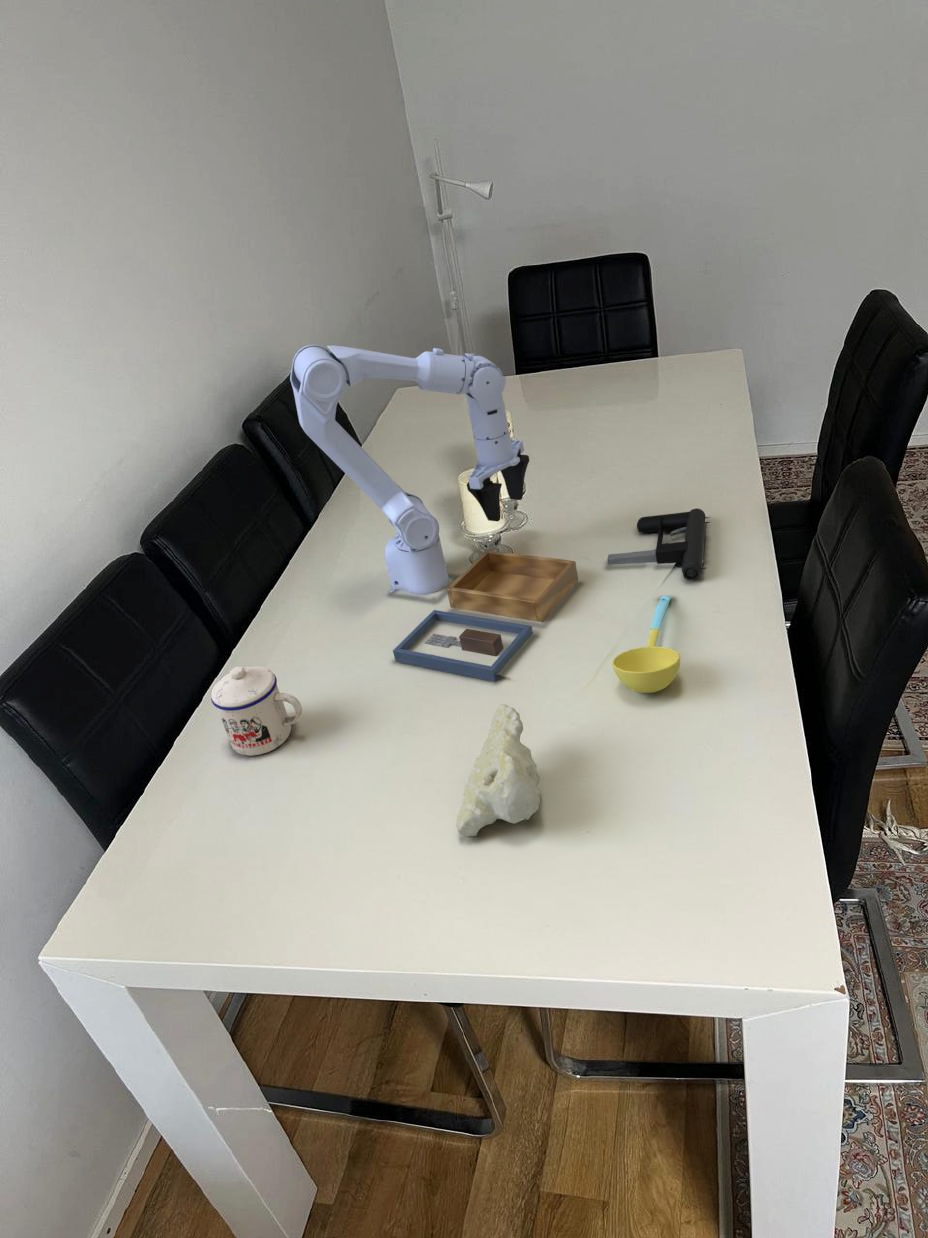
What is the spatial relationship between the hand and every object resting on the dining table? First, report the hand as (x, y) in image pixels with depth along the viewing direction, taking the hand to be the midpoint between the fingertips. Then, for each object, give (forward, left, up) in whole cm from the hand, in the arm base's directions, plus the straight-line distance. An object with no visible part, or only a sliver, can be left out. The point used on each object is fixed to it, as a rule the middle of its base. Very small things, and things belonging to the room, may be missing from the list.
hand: (505, 509), depth 163 cm
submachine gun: (+24, +7, -10) cm, 27 cm away
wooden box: (+7, -12, -9) cm, 16 cm away
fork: (+6, -27, -9) cm, 29 cm away
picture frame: (+6, -27, -9) cm, 29 cm away
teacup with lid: (-10, -53, -10) cm, 55 cm away
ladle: (+33, -19, -10) cm, 39 cm away
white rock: (+27, -52, -10) cm, 59 cm away
